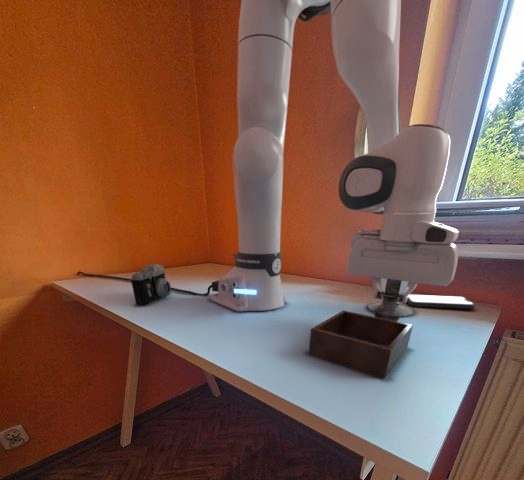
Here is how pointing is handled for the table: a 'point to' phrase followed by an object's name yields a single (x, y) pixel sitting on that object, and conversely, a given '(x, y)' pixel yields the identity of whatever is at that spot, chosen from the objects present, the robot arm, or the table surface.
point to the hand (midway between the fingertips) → (390, 300)
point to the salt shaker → (389, 302)
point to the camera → (150, 285)
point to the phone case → (440, 301)
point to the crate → (360, 342)
